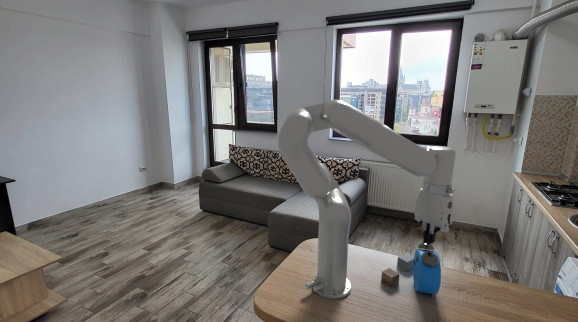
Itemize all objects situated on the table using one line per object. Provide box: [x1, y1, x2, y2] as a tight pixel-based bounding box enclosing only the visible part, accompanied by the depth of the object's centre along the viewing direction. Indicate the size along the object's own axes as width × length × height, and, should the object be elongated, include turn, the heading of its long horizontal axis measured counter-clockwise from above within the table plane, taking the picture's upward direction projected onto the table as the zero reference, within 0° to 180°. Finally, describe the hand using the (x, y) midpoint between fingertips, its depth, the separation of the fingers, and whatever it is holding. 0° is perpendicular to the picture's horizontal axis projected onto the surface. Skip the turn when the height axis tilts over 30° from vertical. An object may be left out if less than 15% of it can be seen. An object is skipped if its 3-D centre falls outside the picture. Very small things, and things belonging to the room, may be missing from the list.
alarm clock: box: [412, 241, 442, 298], centre depth 94 cm, size 13×6×15 cm, turn 165°
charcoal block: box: [396, 253, 414, 273], centre depth 107 cm, size 4×4×4 cm
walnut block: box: [380, 267, 401, 289], centre depth 98 cm, size 4×4×4 cm
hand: (428, 242), depth 92 cm, fingers closed
